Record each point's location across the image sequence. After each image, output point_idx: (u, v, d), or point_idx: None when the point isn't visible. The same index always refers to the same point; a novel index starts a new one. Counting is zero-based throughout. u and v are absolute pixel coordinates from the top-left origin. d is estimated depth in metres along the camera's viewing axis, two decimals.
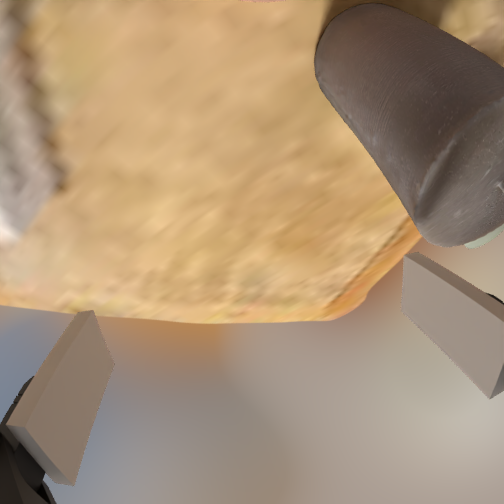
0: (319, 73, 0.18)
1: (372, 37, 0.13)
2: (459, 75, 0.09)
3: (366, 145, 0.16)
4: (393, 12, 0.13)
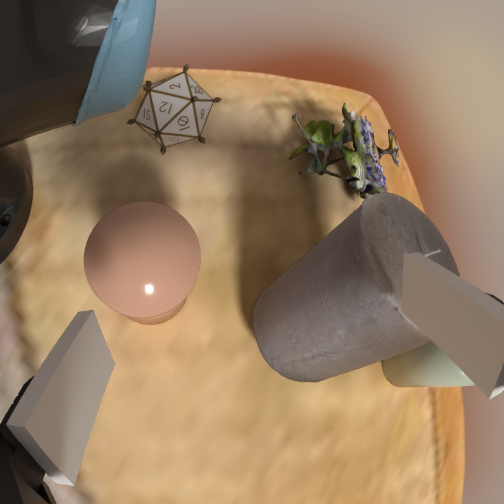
0: (272, 358, 0.24)
1: (283, 288, 0.22)
2: (338, 233, 0.18)
3: (341, 351, 0.18)
4: (283, 273, 0.26)
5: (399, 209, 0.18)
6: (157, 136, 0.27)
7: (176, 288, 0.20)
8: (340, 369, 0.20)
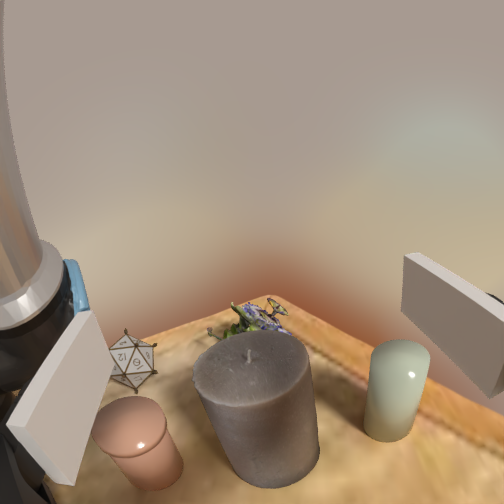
0: (252, 481, 0.25)
1: None
2: None
3: (254, 448, 0.22)
4: None
5: (226, 346, 0.27)
6: (124, 375, 0.38)
7: (152, 430, 0.25)
8: (281, 459, 0.23)
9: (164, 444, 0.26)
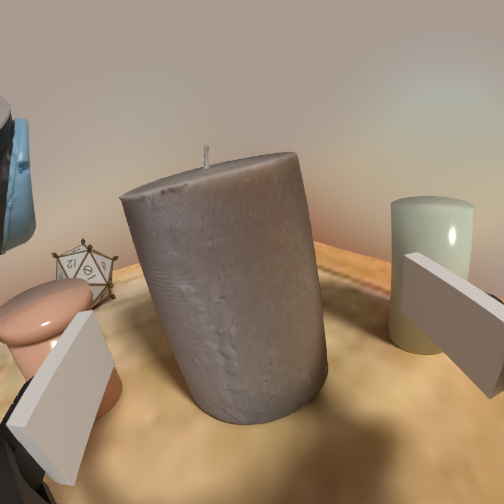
0: (224, 411, 0.16)
1: None
2: None
3: (219, 309, 0.14)
4: None
5: None
6: None
7: (64, 304, 0.16)
8: (271, 342, 0.15)
9: None
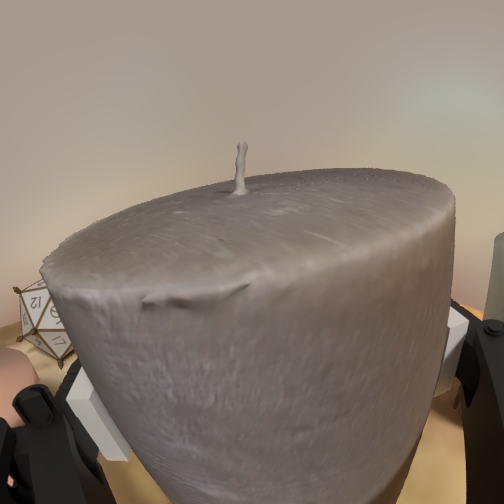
0: None
1: None
2: None
3: None
4: None
5: (164, 198, 0.10)
6: (32, 331, 0.20)
7: None
8: None
9: None
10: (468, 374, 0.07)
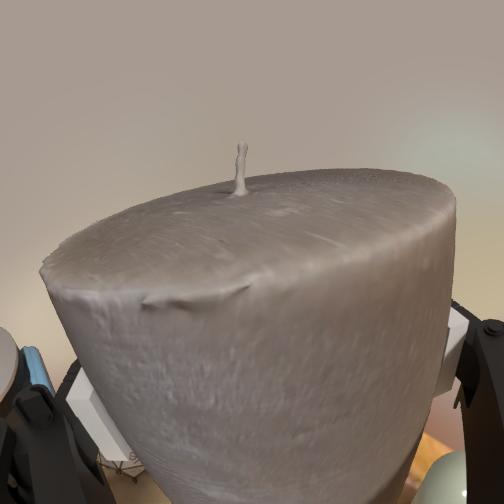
0: None
1: None
2: None
3: None
4: None
5: (163, 199, 0.10)
6: (119, 472, 0.26)
7: None
8: None
9: None
10: (468, 374, 0.07)
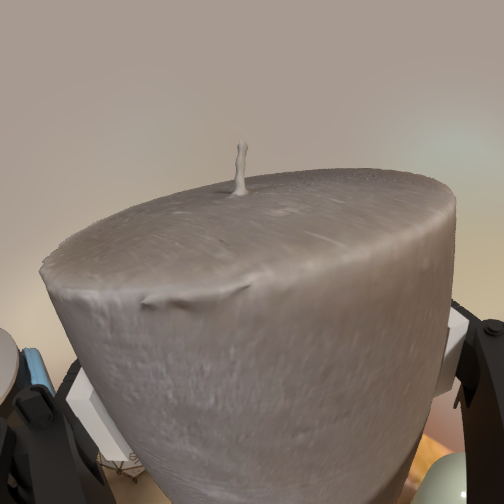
0: None
1: None
2: None
3: None
4: None
5: (163, 199, 0.10)
6: (119, 473, 0.27)
7: None
8: None
9: None
10: (468, 374, 0.07)
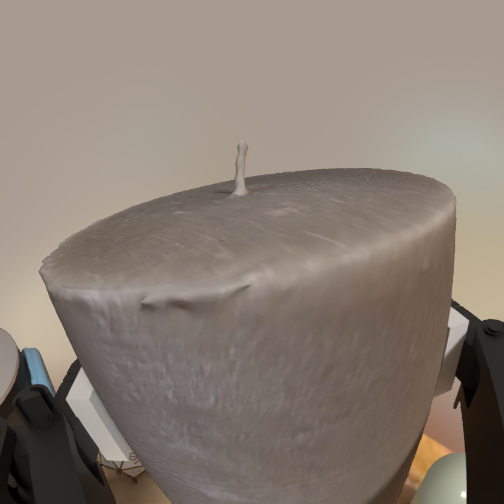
0: None
1: None
2: None
3: None
4: None
5: (163, 199, 0.10)
6: (119, 473, 0.27)
7: None
8: None
9: None
10: (468, 374, 0.07)
